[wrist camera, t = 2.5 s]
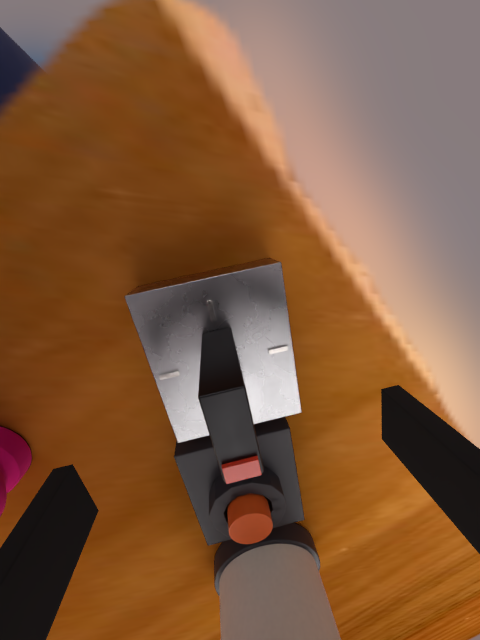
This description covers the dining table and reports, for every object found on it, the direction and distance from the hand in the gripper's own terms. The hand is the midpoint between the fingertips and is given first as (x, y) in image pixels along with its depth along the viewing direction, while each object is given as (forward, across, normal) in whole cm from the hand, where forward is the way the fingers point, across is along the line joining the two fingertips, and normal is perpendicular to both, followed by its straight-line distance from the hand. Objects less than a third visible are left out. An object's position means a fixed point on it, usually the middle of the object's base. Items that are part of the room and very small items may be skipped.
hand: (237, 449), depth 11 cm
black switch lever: (+7, 0, 0) cm, 7 cm away
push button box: (+11, -1, -14) cm, 17 cm away
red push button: (+7, -1, -14) cm, 15 cm away
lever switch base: (+10, 0, 0) cm, 11 cm away
